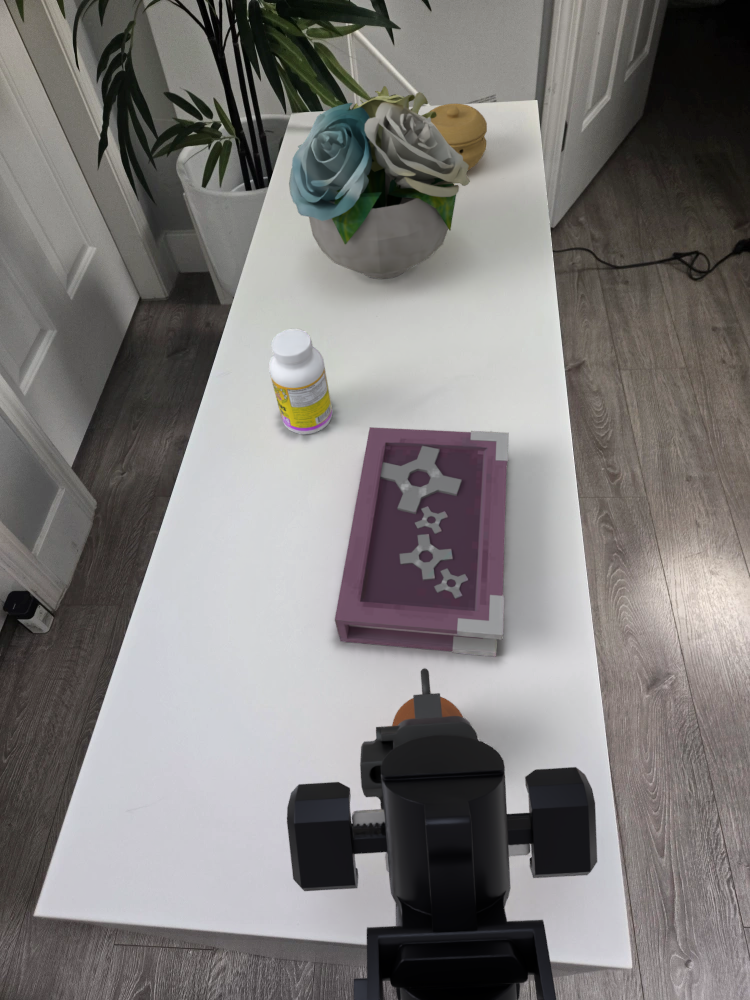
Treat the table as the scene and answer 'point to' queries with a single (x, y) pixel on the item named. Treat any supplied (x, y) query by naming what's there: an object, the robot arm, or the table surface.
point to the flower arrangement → (377, 184)
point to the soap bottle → (408, 712)
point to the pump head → (427, 700)
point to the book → (427, 542)
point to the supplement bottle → (300, 382)
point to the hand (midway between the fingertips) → (433, 760)
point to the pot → (462, 130)
